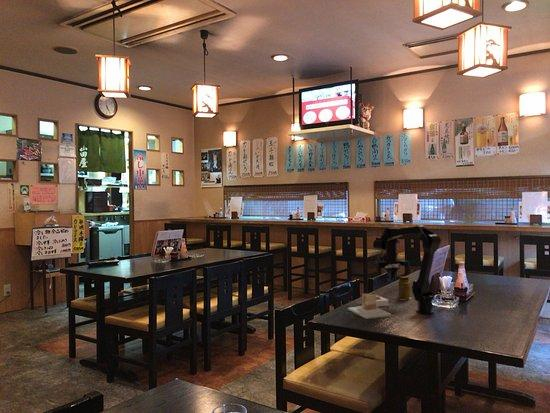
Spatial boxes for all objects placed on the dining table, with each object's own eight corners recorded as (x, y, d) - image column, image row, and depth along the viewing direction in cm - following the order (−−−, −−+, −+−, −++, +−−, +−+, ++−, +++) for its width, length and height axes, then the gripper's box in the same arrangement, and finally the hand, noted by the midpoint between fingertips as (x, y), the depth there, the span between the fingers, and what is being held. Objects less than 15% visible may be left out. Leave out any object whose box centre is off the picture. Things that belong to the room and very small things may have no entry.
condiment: (412, 298, 246) (412, 277, 245) (402, 300, 241) (402, 279, 241) (402, 296, 252) (402, 275, 251) (392, 298, 247) (392, 277, 247)
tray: (391, 316, 209) (391, 310, 209) (365, 318, 205) (365, 313, 205) (371, 307, 227) (371, 302, 226) (347, 309, 222) (347, 304, 222)
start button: (381, 303, 231) (381, 296, 231) (373, 303, 230) (373, 297, 230) (376, 301, 236) (376, 294, 236) (369, 301, 234) (369, 295, 234)
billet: (376, 311, 214) (375, 295, 214) (367, 312, 213) (367, 296, 213) (370, 309, 219) (370, 293, 219) (362, 309, 218) (361, 294, 217)
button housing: (388, 305, 230) (388, 299, 230) (371, 307, 227) (371, 301, 226) (378, 301, 239) (378, 295, 239) (362, 302, 236) (362, 297, 236)
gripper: (397, 248, 242) (397, 276, 243) (368, 250, 237) (368, 278, 237) (409, 251, 232) (409, 280, 232) (378, 252, 226) (379, 282, 226)
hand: (391, 280), depth 232 cm, fingers closed
